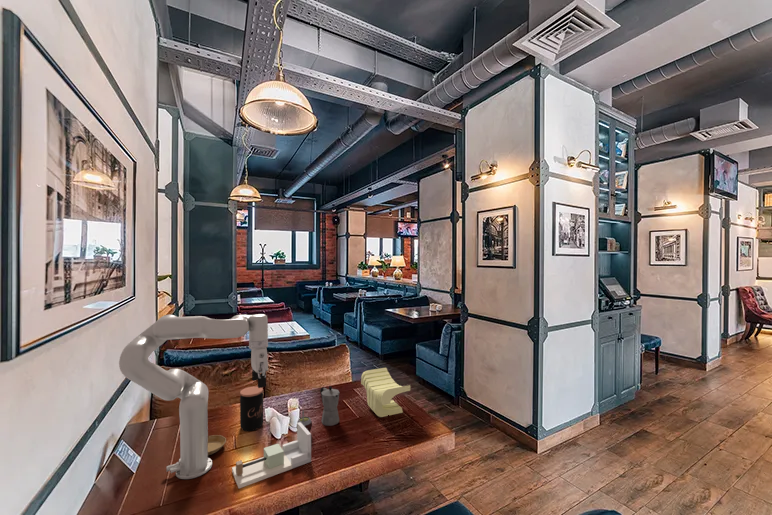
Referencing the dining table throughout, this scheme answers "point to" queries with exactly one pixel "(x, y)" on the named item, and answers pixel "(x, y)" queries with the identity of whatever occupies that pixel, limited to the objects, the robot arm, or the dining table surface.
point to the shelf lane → (293, 457)
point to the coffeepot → (330, 406)
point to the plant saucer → (215, 443)
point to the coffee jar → (251, 408)
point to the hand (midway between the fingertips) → (258, 383)
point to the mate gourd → (306, 422)
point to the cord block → (265, 458)
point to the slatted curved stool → (382, 391)
